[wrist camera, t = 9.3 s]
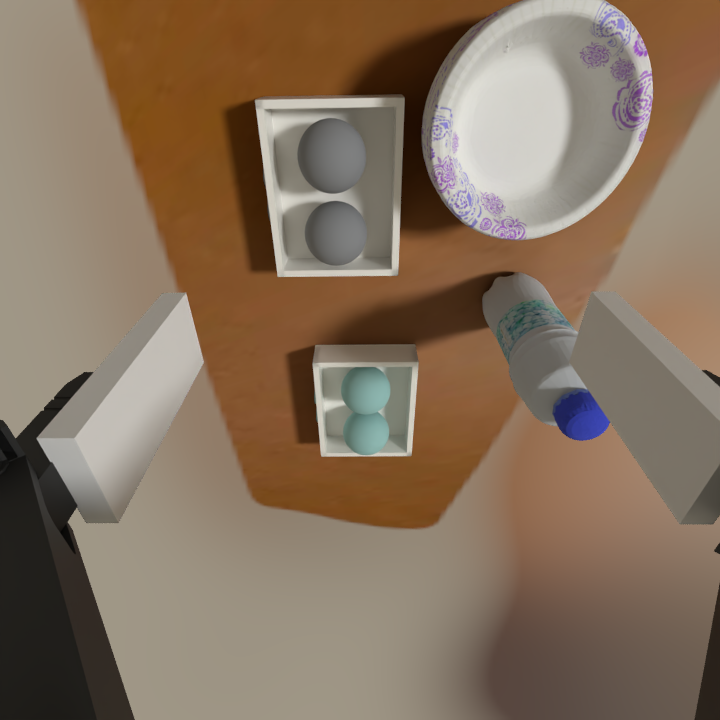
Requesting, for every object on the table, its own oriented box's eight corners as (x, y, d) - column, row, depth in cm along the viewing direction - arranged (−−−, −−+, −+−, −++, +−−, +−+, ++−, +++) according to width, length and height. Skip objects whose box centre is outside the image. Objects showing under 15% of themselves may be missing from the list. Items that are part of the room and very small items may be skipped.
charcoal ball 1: (299, 115, 36) (289, 122, 31) (366, 114, 36) (365, 121, 31) (304, 186, 39) (296, 201, 34) (366, 185, 39) (366, 200, 34)
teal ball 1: (341, 355, 49) (338, 385, 45) (389, 355, 49) (392, 385, 45) (342, 393, 52) (340, 425, 48) (388, 393, 52) (391, 425, 48)
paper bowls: (644, 85, 35) (709, 91, 28) (513, 243, 42) (540, 276, 36) (500, -49, 31) (538, -79, 24) (381, 153, 38) (385, 173, 31)
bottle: (469, 320, 47) (525, 460, 31) (486, 261, 43) (560, 385, 27) (529, 326, 48) (617, 468, 31) (551, 268, 44) (664, 395, 27)
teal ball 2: (343, 399, 53) (341, 431, 48) (388, 399, 53) (390, 431, 48) (344, 432, 56) (342, 465, 52) (387, 432, 56) (389, 465, 51)
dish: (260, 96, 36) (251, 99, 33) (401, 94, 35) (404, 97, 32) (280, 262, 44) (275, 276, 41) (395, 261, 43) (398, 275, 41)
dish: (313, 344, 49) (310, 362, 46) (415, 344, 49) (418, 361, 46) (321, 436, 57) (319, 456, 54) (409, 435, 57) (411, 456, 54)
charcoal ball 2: (305, 194, 39) (298, 211, 35) (366, 193, 39) (367, 210, 35) (310, 252, 42) (304, 275, 38) (367, 252, 42) (367, 275, 38)
